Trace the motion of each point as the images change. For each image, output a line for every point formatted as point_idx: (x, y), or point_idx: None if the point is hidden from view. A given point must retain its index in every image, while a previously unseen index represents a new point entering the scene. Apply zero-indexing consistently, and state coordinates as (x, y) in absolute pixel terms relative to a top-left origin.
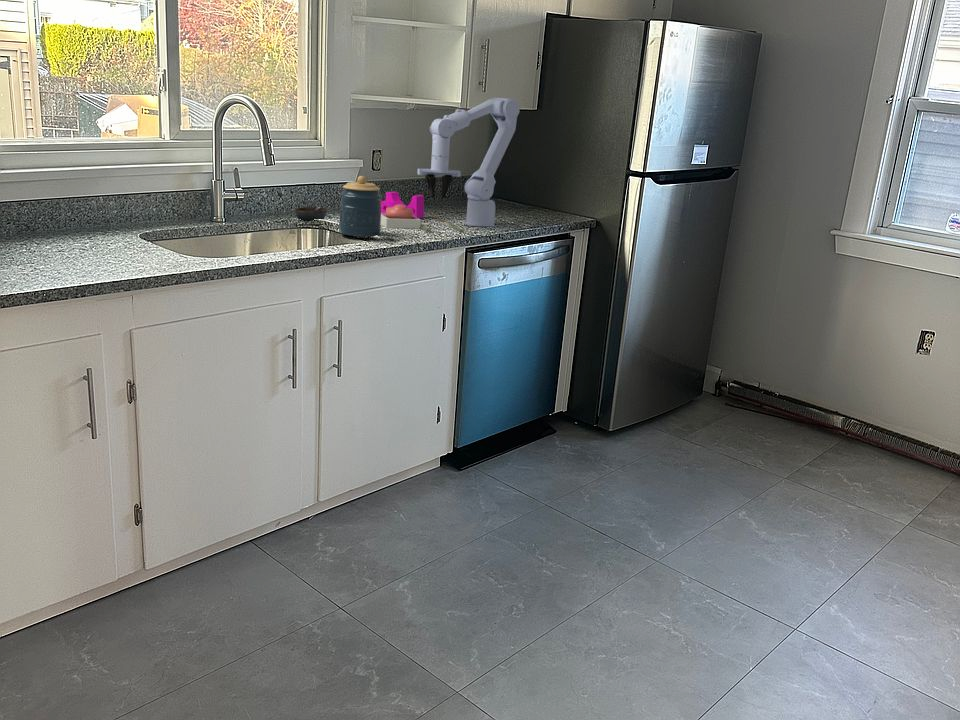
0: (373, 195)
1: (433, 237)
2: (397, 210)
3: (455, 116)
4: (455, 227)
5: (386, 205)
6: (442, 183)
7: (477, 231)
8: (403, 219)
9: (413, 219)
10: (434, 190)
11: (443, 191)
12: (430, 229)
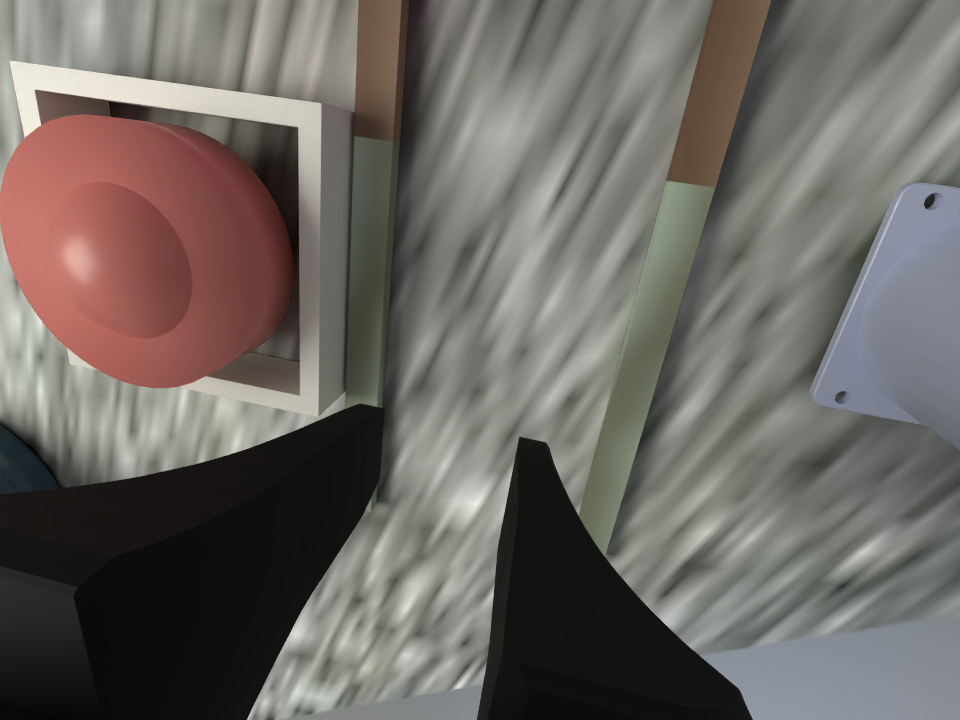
0: None
1: (328, 636)
2: (92, 356)
3: None
4: (600, 468)
5: None
6: (504, 593)
7: (748, 530)
8: (188, 388)
9: (261, 404)
10: (324, 568)
11: (500, 563)
12: (367, 510)
